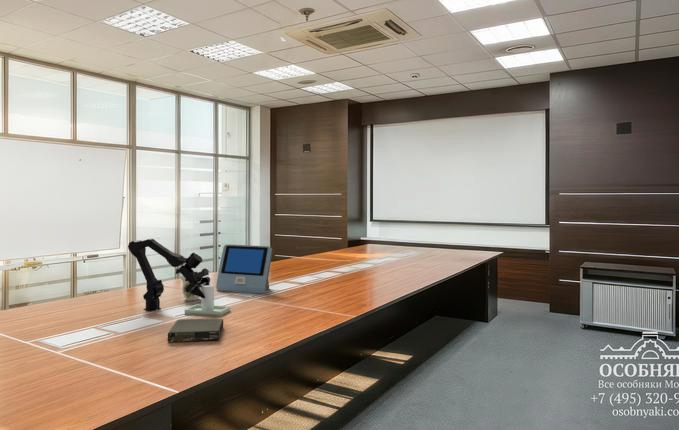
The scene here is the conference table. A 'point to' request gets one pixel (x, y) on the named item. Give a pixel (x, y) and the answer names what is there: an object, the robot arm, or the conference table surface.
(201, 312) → the tray
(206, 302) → the white rounded capsule
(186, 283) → the pitcher
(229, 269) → the touchscreen device
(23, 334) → the conference table surface
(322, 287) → the conference table surface
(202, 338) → the network switch
